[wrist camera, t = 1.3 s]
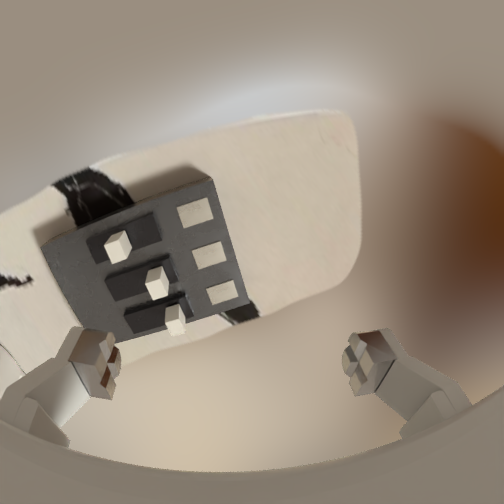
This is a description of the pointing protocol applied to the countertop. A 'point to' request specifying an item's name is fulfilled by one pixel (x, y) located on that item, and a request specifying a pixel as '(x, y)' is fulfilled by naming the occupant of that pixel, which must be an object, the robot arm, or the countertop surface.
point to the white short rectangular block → (175, 320)
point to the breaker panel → (150, 263)
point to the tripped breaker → (118, 247)
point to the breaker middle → (157, 283)
